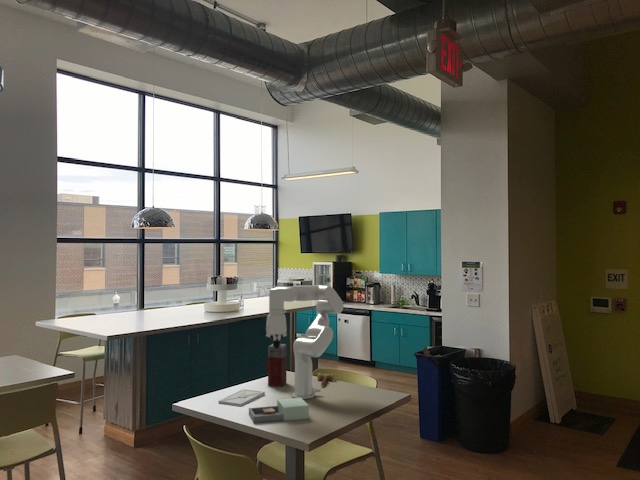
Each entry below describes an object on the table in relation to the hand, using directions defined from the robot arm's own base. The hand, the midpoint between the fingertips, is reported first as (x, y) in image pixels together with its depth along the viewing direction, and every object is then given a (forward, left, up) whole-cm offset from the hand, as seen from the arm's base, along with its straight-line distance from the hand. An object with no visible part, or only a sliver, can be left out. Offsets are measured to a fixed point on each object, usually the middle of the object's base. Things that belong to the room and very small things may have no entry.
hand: (276, 348), depth 266 cm
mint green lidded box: (-4, +19, -29) cm, 35 cm away
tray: (+9, +19, -29) cm, 36 cm away
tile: (+8, +20, -25) cm, 33 cm away
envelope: (+15, -16, -30) cm, 37 cm away
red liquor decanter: (-9, -42, -29) cm, 52 cm away
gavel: (-38, -36, -30) cm, 60 cm away
